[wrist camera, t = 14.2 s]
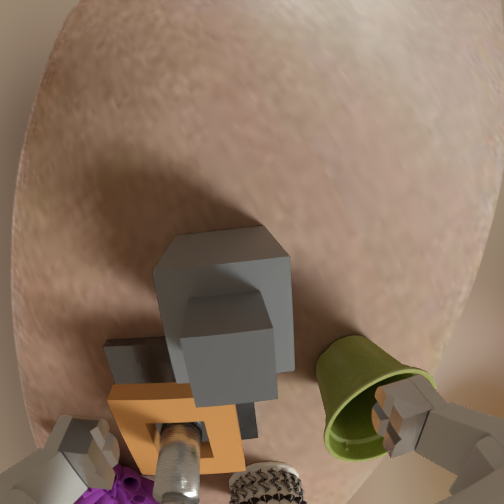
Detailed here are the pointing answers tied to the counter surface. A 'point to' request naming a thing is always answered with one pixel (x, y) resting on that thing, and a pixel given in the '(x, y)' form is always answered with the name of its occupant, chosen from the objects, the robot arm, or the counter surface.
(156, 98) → the counter surface
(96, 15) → the counter surface
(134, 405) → the collar
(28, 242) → the counter surface
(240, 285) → the grey stepped block
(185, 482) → the pipe stand
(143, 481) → the purple tube coral
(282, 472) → the decorative candle
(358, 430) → the plant pot
